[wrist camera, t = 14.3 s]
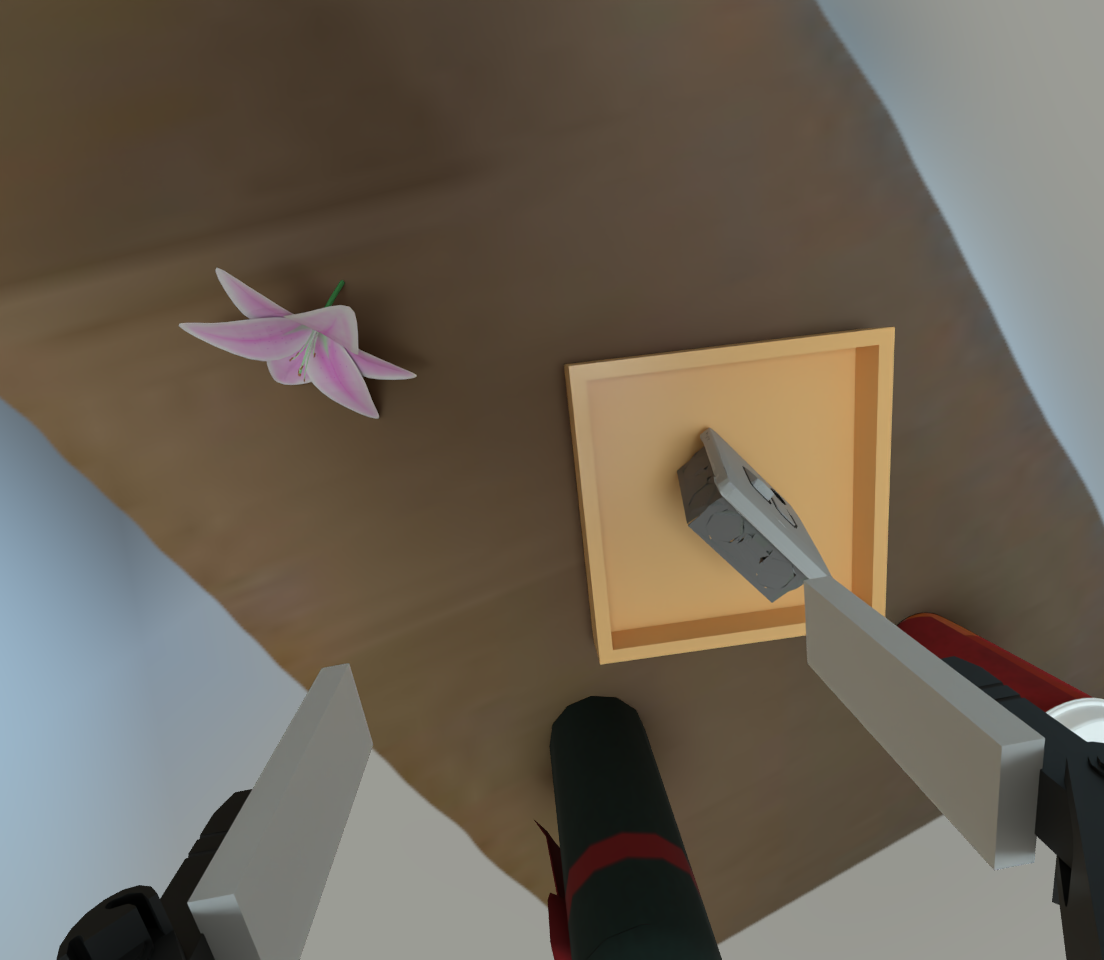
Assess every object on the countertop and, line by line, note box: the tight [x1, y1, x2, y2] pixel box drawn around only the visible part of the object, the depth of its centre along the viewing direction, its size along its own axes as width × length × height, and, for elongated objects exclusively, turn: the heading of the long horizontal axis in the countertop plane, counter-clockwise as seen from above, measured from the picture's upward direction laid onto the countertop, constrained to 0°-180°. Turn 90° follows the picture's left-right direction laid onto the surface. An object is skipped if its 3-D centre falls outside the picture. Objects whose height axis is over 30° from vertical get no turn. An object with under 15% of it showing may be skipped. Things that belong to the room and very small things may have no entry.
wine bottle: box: [535, 696, 722, 960], centre depth 30 cm, size 8×10×30 cm
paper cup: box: [897, 613, 1104, 743], centre depth 38 cm, size 8×8×14 cm
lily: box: [179, 267, 417, 419], centre depth 33 cm, size 12×12×10 cm
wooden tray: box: [564, 327, 895, 665], centre depth 39 cm, size 21×21×4 cm
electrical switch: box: [677, 428, 833, 603], centre depth 35 cm, size 9×5×9 cm, turn 47°
